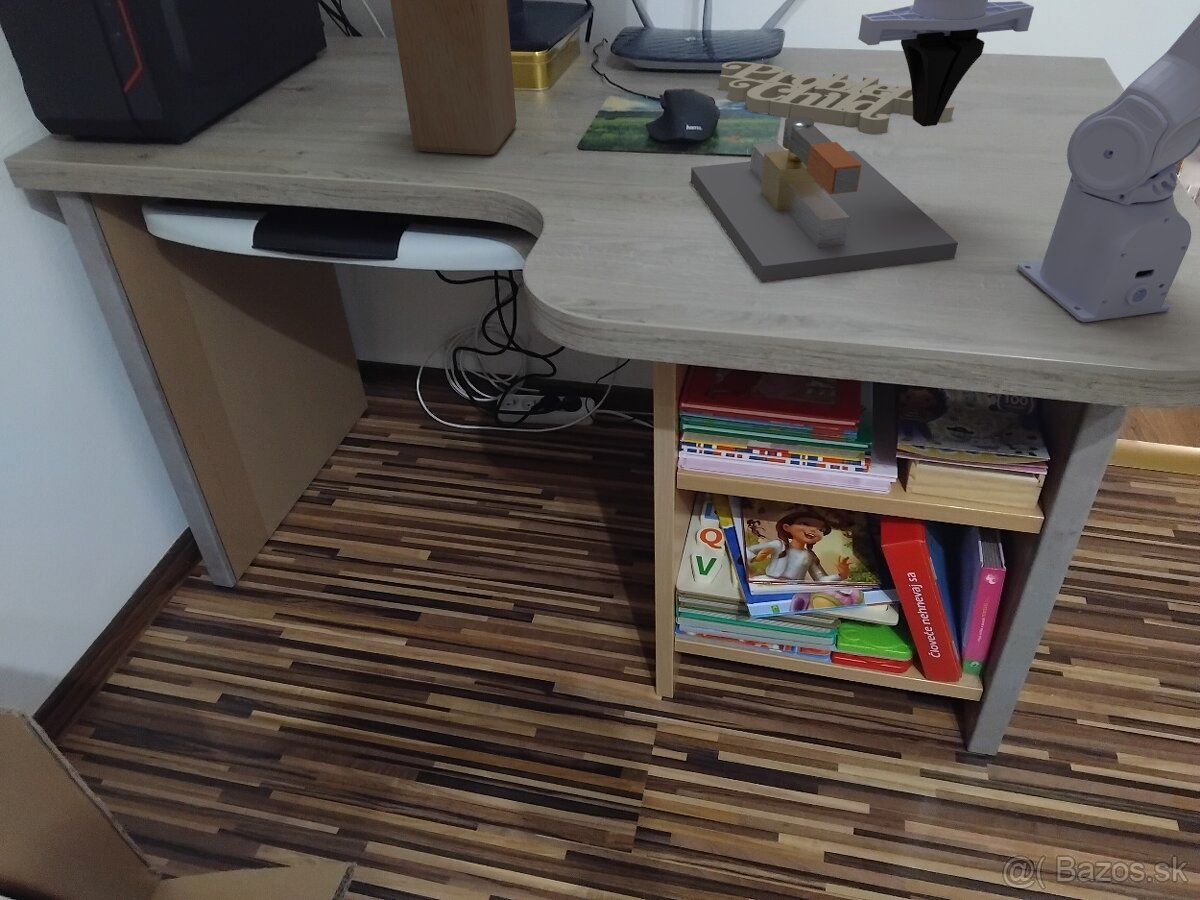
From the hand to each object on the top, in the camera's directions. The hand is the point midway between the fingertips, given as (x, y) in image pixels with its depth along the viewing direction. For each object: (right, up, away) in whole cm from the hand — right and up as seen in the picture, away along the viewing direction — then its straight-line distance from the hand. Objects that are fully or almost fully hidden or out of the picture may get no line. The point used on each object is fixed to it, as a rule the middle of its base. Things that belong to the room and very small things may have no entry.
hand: (924, 122), depth 79 cm
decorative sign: (-1, +13, +31) cm, 34 cm away
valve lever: (-10, -4, -1) cm, 11 cm away
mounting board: (-9, -7, +7) cm, 13 cm away
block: (-45, +7, +24) cm, 51 cm away
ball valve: (-11, -6, +5) cm, 13 cm away
